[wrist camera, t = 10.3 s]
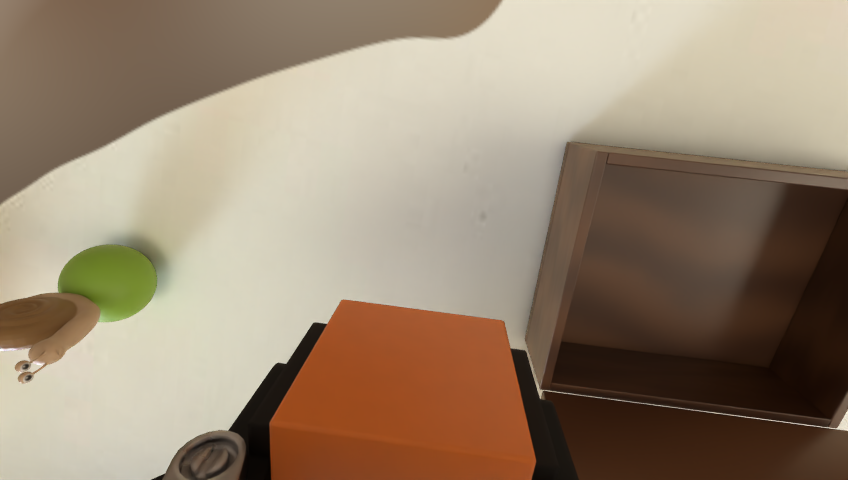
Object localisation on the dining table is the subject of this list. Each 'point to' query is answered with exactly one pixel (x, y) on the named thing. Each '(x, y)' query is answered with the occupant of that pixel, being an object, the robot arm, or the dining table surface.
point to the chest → (695, 285)
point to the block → (404, 401)
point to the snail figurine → (77, 304)
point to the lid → (692, 444)
